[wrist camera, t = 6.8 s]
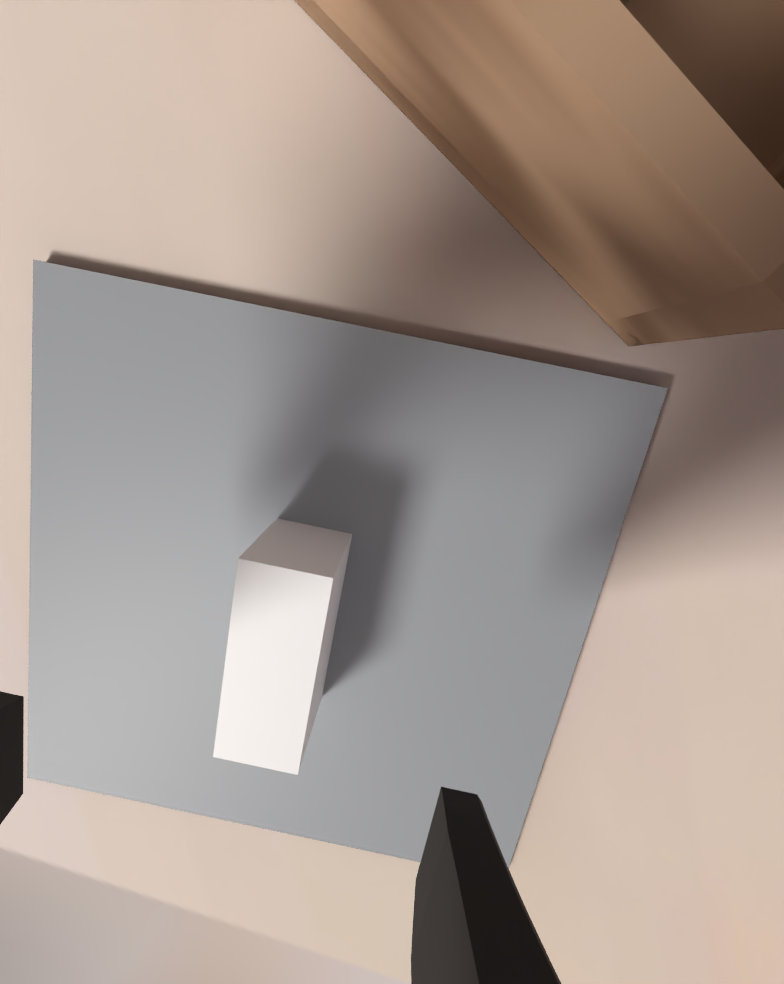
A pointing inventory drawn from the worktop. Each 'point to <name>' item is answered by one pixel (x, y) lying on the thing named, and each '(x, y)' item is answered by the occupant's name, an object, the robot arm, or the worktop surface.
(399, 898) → the worktop surface
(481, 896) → the robot arm
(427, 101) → the storage box
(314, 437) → the lid
